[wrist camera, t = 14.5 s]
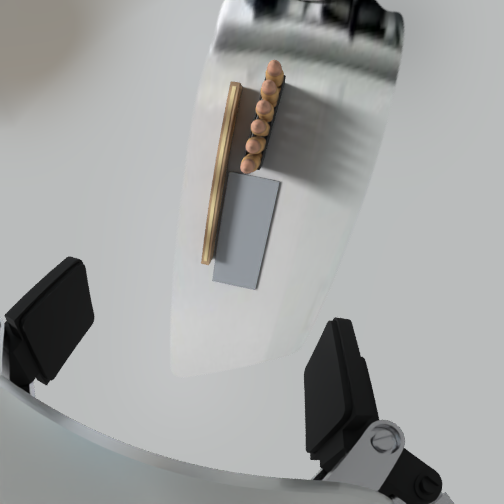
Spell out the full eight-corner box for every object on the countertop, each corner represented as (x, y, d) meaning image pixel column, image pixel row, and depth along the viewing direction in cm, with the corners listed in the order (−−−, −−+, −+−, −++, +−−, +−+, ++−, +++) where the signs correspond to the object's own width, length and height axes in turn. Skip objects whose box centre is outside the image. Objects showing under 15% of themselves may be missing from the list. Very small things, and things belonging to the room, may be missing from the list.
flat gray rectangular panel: (229, 171, 32) (229, 171, 32) (279, 181, 32) (279, 181, 32) (212, 279, 38) (212, 280, 38) (255, 288, 38) (255, 289, 38)
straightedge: (234, 85, 28) (230, 81, 25) (242, 86, 28) (239, 82, 25) (205, 255, 37) (201, 263, 34) (213, 256, 37) (208, 265, 34)
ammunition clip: (261, 166, 32) (253, 184, 21) (246, 163, 32) (230, 178, 21) (284, 82, 27) (289, 54, 16) (269, 78, 27) (265, 48, 16)
